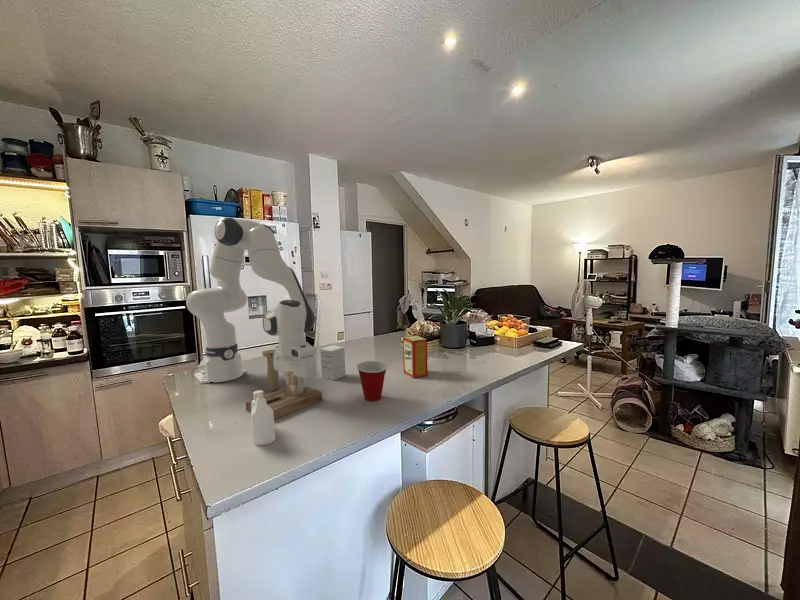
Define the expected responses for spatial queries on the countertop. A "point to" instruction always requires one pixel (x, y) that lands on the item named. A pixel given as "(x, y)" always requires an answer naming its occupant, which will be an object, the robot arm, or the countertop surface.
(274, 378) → the handle
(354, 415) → the countertop surface
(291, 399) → the socket block
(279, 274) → the robot arm
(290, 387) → the maple peg
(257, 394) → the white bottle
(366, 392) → the plastic cup
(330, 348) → the mini drawer cabinet
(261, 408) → the white sloped-shoulder bottle
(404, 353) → the baking soda box
